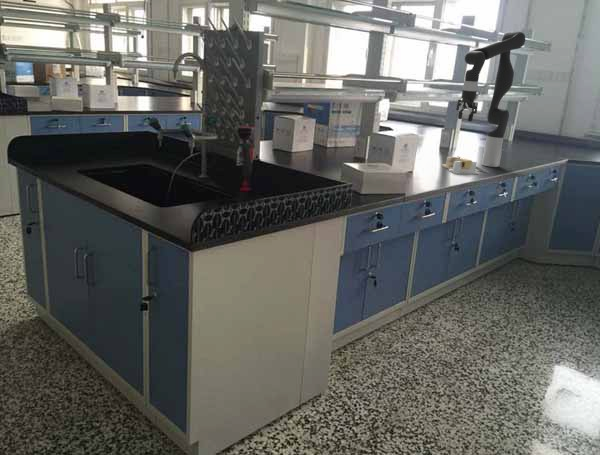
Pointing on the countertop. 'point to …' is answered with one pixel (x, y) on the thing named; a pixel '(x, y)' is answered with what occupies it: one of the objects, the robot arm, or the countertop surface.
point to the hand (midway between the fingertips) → (464, 120)
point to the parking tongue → (450, 162)
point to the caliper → (479, 168)
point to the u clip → (466, 162)
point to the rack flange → (459, 168)
